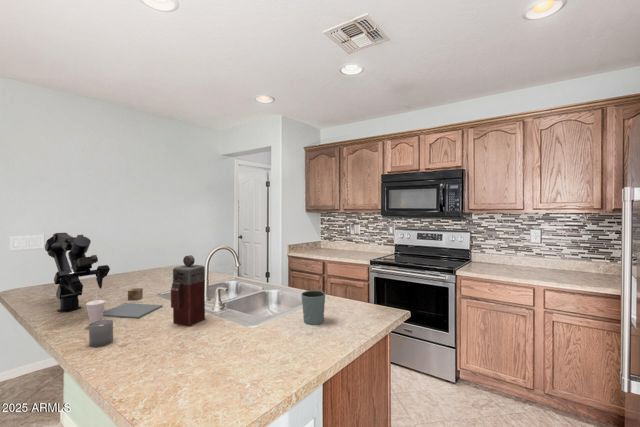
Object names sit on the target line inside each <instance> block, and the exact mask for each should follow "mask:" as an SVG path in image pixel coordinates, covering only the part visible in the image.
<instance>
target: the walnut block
mask: <svg viewBox="0 0 640 427" xmlns="http://www.w3.org/2000/svg"><path fill="white" fill-rule="evenodd" d="M143 290H144V289H143V287H141V288H140V287H138V288H137V287H136V288H135V287H134V288H131V289H129V290H128V291H127V302H129V301H140V300H141V299H142V298H143V294H144V293H143V292H144V291H143Z"/></svg>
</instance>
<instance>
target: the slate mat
mask: <svg viewBox="0 0 640 427" xmlns="http://www.w3.org/2000/svg"><path fill="white" fill-rule="evenodd" d="M161 308H163V304H149V303H135V302H134V303H133V302H124V303H122V304H120V305H116V306H114V307H112V308H110V309H107V310H103V317H108V318H120V319H121V318H123V319H137V320H138V319H140V318H142V317H144V316H145V317H146V316H147V315H149V314H151V313H153V312H155V311H157V310H159V309H161Z"/></svg>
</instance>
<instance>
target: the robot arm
mask: <svg viewBox="0 0 640 427" xmlns="http://www.w3.org/2000/svg"><path fill="white" fill-rule="evenodd" d="M90 245H91V239H90V238H89V237H87V236H84V234H77V235H76V236H75V237H74V236H71V235H70V234H68V233H67V232H55V233H53V234H52V236H50V237H49V238H48V239H47V240H46V242H45V245H44V249H45V251H46V252H47V255H48V256H49V257H50V258H52V259H54V262H55V266H56V268H57V269H56V270H57V272H55V275H54V277H53V282H54V285H58V286H57V289H56V291H55V296H56V298H57V299H58V300H59V301H60V308H59V309H57V310H56V312H63V313H64V312H65V313H66V312H68V313H70V312H73V311H75V310H78V309H81V308H82V306H81V305H79V304H80V301H79V300H80V299H79V296H82V294H83V290H84V285H83V283H82V282H81V280H80V278H81V277H87V276H95V277H96V282H97V285H98V288H99V289H102V287H103V280H104V278H106V277H107V276H108V274H109V272H110V270H111V267H110V266H109V265H108V264H105V265H104V264H103V265H98V266H97V268H96V269H92V268H93V265H94V264H97V263H98V261H99V259H98V256H97V254H92V255H90V256H86V253H87V252H88V251H89V249H90V248H89V247H90ZM67 252H68V254H67ZM66 254H67V255H66ZM67 256H68V257H67ZM68 260H69V261H70V262H69V261H68Z"/></svg>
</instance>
